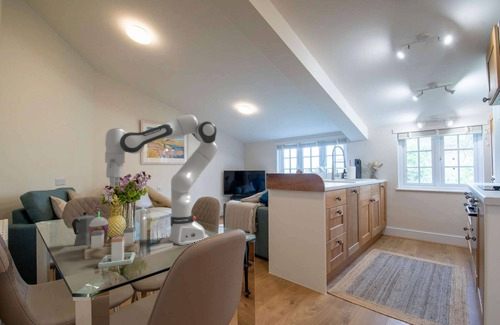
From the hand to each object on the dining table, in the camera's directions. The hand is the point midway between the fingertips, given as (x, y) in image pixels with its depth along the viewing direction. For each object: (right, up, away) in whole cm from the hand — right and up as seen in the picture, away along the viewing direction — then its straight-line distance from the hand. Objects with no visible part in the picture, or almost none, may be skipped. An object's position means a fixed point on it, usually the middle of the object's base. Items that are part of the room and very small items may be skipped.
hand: (114, 186), depth 118 cm
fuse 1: (0, -31, -14) cm, 34 cm away
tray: (+14, -32, -21) cm, 40 cm away
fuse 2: (+13, -31, -10) cm, 35 cm away
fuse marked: (+14, -31, -21) cm, 40 cm away
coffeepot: (-20, -33, +5) cm, 39 cm away
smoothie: (-5, -33, -4) cm, 33 cm away
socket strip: (+7, -32, -12) cm, 35 cm away
